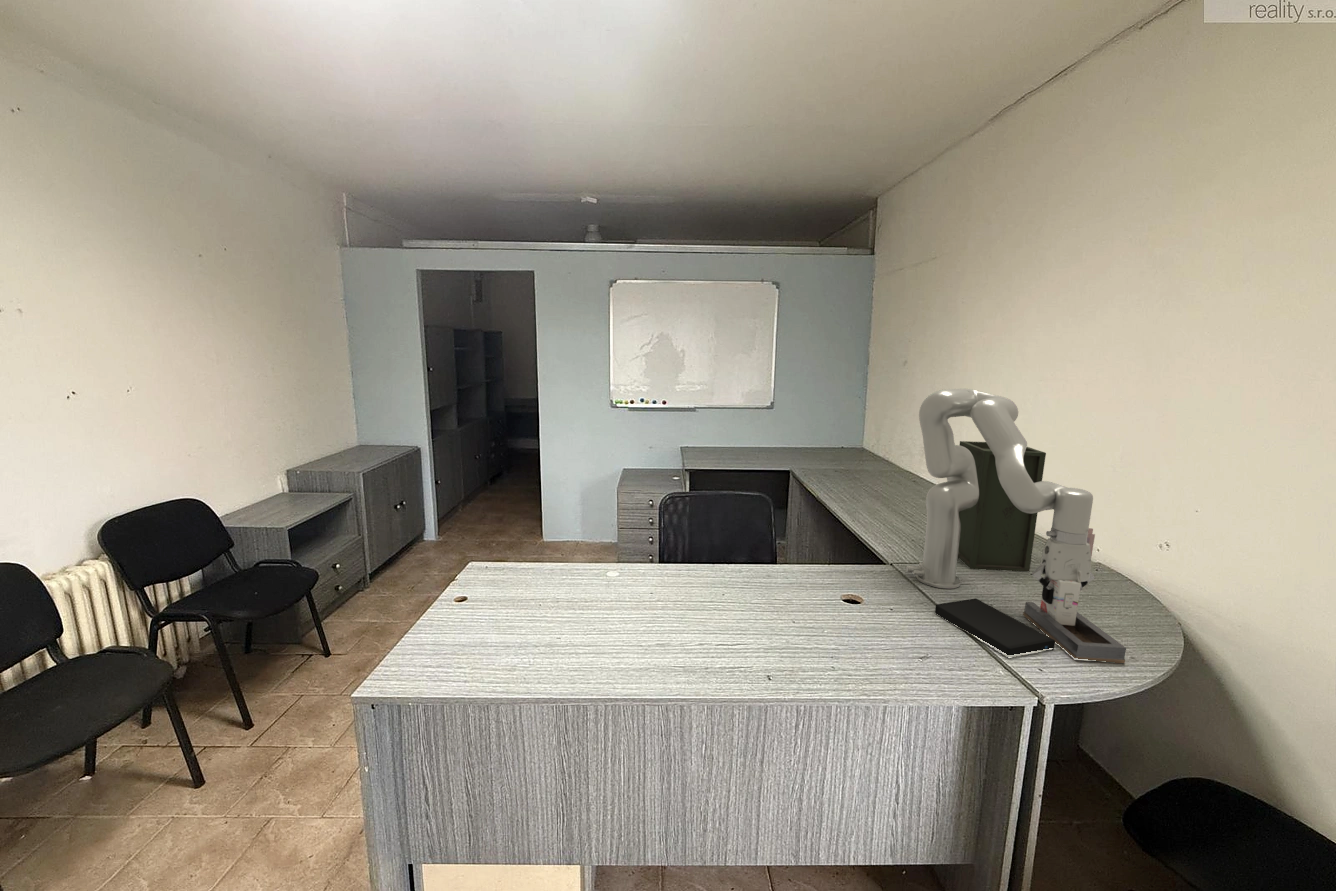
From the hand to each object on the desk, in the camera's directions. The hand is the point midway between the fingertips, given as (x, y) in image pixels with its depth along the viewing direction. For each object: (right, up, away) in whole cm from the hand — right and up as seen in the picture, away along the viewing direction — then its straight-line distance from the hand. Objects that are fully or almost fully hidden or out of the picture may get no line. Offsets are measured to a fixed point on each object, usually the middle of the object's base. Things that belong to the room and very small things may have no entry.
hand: (1059, 601), depth 142 cm
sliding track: (-1, -8, -5) cm, 9 cm away
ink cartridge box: (0, -5, +1) cm, 5 cm away
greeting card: (+30, -1, +37) cm, 48 cm away
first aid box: (+8, +1, +46) cm, 47 cm away
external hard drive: (-19, -8, -1) cm, 20 cm away
